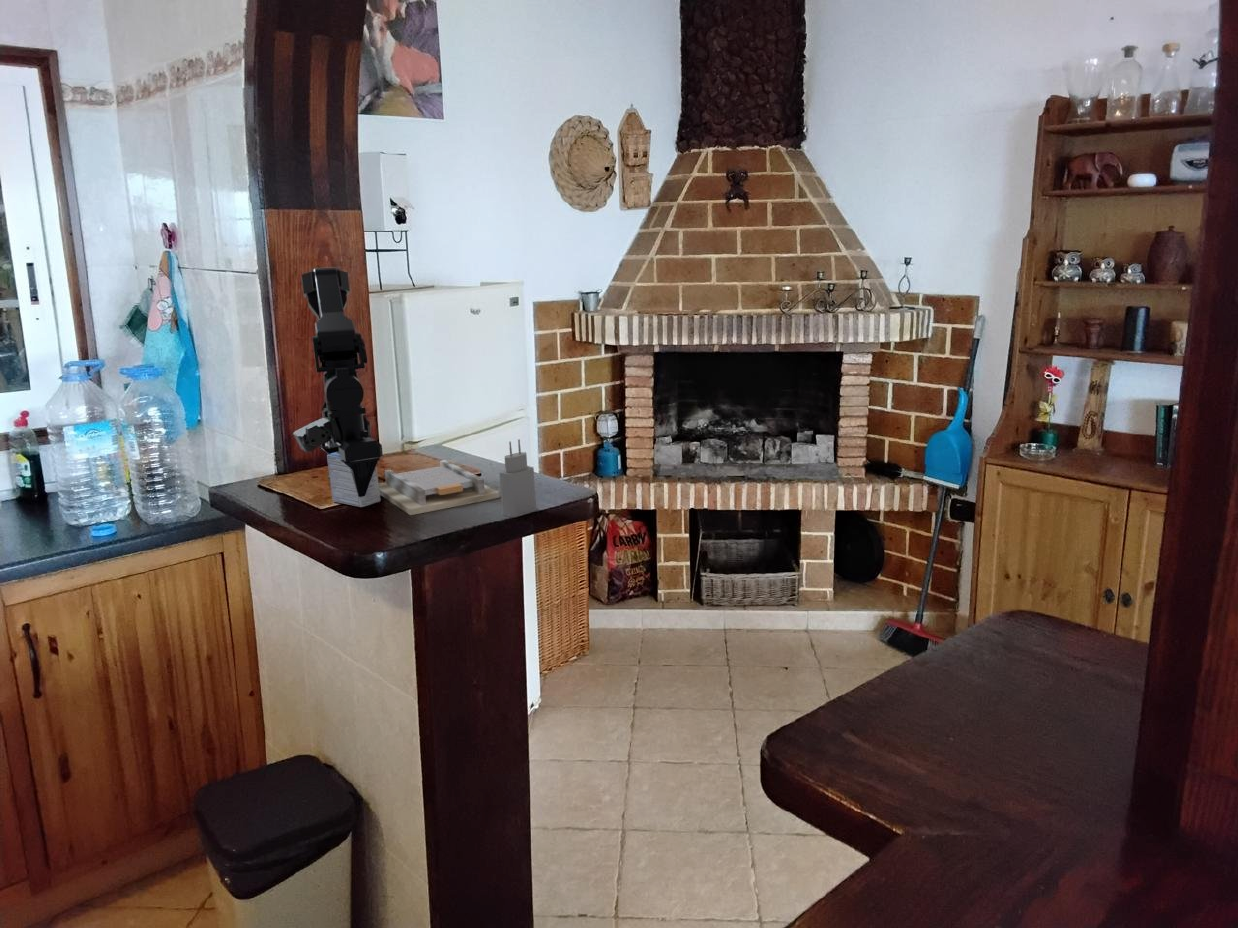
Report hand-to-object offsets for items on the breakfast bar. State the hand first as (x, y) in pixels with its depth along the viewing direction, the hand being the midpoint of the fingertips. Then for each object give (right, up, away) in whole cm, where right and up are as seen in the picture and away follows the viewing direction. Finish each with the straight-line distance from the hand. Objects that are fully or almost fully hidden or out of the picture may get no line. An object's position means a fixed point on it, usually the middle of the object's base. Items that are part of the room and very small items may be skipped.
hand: (354, 490), depth 160 cm
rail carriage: (+14, +1, +3) cm, 14 cm away
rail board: (+13, -1, +4) cm, 14 cm away
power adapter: (+30, -3, -9) cm, 31 cm away
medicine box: (0, -2, +1) cm, 2 cm away
